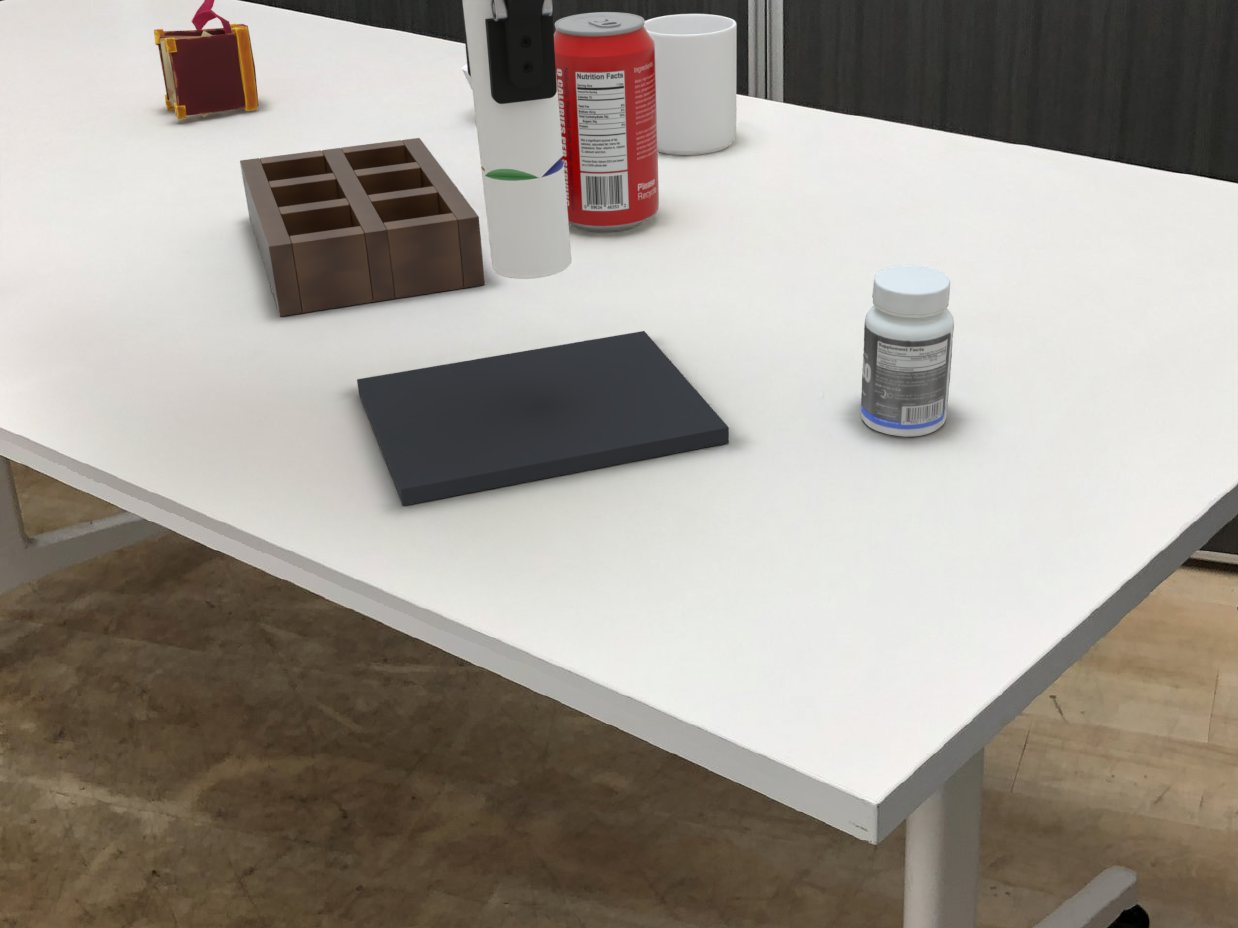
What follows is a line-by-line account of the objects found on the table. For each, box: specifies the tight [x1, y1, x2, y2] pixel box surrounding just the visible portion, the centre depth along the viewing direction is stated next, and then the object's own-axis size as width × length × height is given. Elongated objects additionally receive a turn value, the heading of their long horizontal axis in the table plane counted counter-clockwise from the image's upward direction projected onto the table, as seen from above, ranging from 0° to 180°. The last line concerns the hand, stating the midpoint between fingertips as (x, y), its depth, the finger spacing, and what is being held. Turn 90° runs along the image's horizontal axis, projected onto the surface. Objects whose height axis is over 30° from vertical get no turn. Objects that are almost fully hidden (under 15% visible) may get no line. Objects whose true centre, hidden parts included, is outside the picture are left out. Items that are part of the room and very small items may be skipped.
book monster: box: [153, 0, 259, 120], centre depth 142 cm, size 11×9×12 cm
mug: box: [644, 13, 738, 156], centre depth 124 cm, size 12×8×10 cm
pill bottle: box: [860, 264, 955, 438], centre depth 78 cm, size 5×5×8 cm
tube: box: [461, 0, 573, 280], centre depth 74 cm, size 4×4×15 cm
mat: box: [356, 330, 730, 506], centre depth 82 cm, size 18×14×1 cm
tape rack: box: [239, 137, 486, 317], centre depth 105 cm, size 14×20×5 cm
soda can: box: [554, 11, 660, 233], centre depth 107 cm, size 8×8×15 cm
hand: (511, 83), depth 73 cm, fingers closed on tube, 4 cm apart
